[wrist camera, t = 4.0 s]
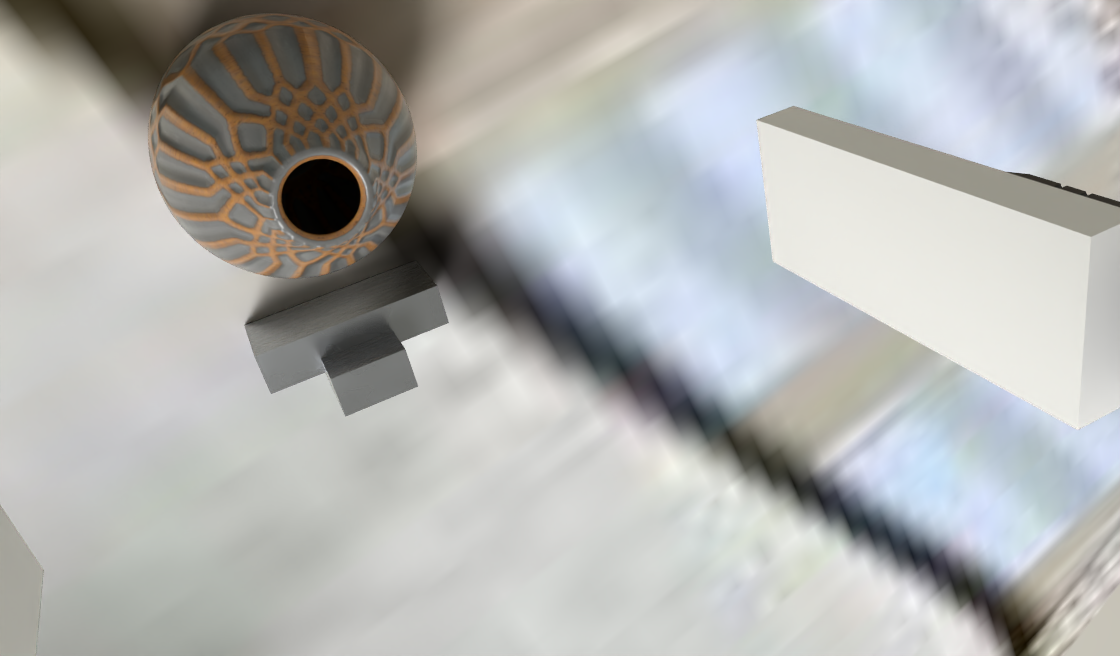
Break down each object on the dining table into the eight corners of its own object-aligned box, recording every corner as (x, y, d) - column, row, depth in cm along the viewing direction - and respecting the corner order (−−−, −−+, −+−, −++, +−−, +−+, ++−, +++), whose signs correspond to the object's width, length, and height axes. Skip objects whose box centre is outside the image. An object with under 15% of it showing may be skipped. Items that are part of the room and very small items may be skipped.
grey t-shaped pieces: (269, 383, 32) (289, 439, 29) (33, -155, 24) (22, -163, 21) (434, 317, 34) (470, 364, 30) (264, -209, 26) (288, -224, 22)
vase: (146, 229, 29) (162, 345, 21) (139, -11, 26) (152, 26, 19) (373, 230, 32) (455, 332, 24) (385, 13, 29) (480, 54, 22)
